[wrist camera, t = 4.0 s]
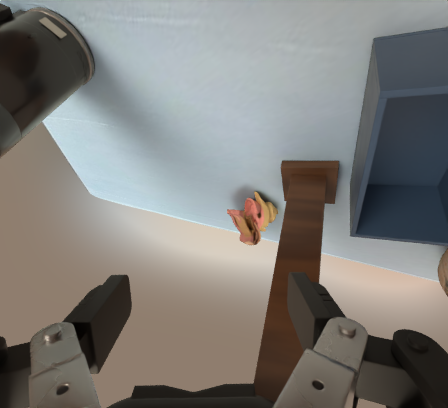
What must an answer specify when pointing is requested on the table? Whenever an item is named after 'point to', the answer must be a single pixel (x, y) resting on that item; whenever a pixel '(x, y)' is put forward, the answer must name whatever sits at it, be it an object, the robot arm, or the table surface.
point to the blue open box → (403, 142)
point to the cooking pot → (443, 271)
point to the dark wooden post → (293, 266)
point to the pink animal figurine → (253, 219)
